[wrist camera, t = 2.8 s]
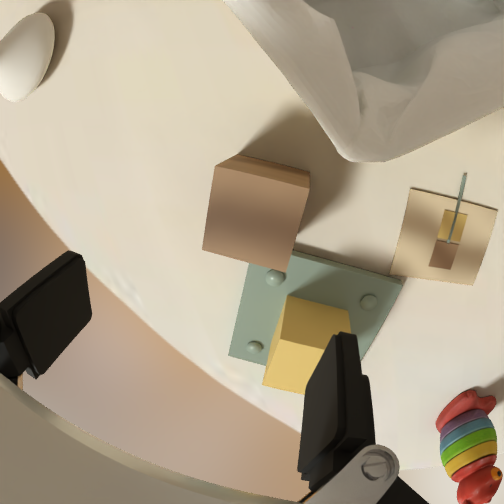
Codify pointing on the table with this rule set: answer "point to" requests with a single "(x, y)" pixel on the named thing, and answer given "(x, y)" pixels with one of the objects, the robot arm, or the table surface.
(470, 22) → the storage basket
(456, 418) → the stacking bear
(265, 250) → the walnut cube
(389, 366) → the table surface
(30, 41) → the flower in vase
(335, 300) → the baseplate
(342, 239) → the table surface
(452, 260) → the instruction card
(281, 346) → the mustard cube
